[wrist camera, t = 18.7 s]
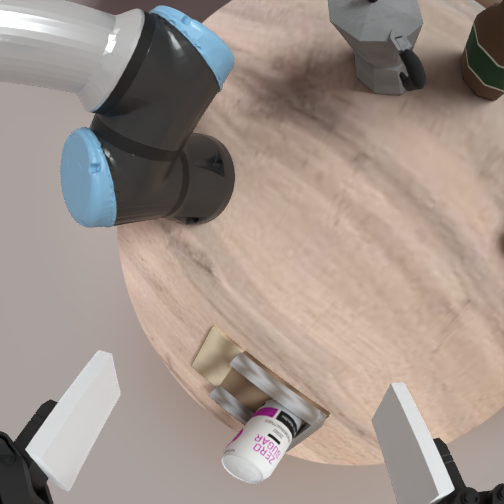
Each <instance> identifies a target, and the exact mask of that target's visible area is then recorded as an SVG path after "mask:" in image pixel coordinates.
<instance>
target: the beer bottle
mask: <svg viewBox="0 0 504 504" xmlns="http://www.w3.org/2000/svg"><path fill="white" fill-rule="evenodd" d="M461 66H462V76H463V79H464V80H465V82H466V83H467V84H468V85H469V86H470V87H471V89H472V90H473V91H474V92H475V93H476V95H478V96H482V97H485V98H488V99H491V100H494V101H495V100H497V99H498V98H499V97H500V96H502V95H503V94H504V0H503V1H502V2H501V3H495V4H494V5H492V6H490V7H489V8H487V9H485V10H484V11H482V12H481V13H479V14H478V15H477V17H476V19H475V21H474V23H473V26H472V29H471V32H470V35H469V38H468V41H467V43H466V46H465V49H464V52H463V54H462V58H461Z"/></svg>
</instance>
